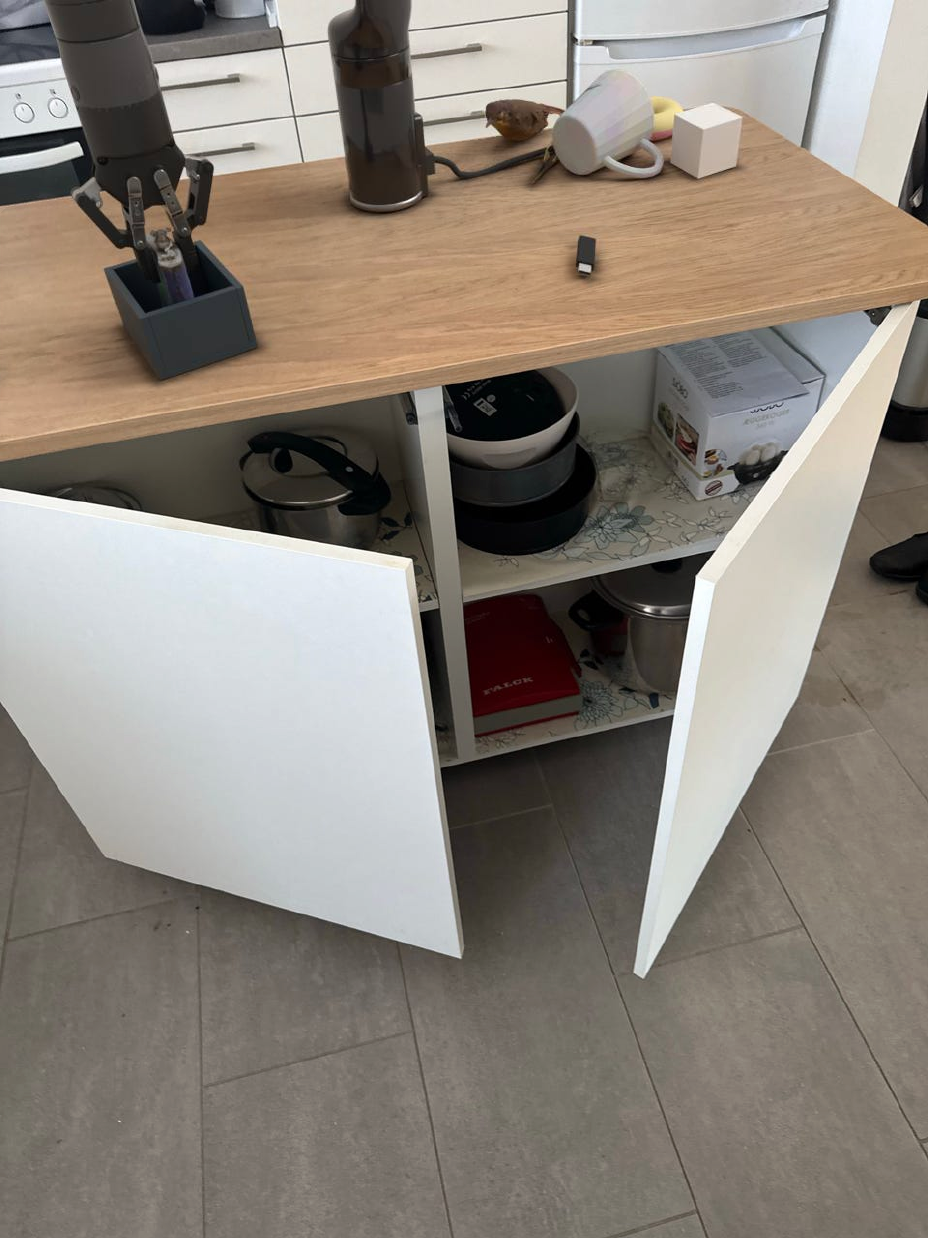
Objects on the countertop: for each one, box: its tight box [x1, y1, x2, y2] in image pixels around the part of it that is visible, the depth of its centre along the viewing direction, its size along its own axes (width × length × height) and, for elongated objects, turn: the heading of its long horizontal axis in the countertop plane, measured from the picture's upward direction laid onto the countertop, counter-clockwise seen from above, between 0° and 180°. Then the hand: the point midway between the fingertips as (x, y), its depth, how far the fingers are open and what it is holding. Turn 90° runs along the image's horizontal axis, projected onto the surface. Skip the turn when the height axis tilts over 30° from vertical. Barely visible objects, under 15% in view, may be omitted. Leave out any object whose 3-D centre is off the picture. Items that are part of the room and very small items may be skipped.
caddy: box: [103, 239, 259, 381], centre depth 97 cm, size 11×13×7 cm
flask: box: [145, 226, 194, 307], centre depth 95 cm, size 9×3×11 cm, turn 27°
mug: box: [551, 68, 665, 179], centre depth 121 cm, size 10×15×10 cm
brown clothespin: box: [532, 140, 559, 184], centre depth 125 cm, size 12×3×1 cm, turn 156°
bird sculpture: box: [484, 98, 566, 142], centre depth 131 cm, size 7×25×5 cm, turn 150°
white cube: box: [669, 102, 744, 179], centre depth 120 cm, size 6×6×6 cm
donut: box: [649, 96, 685, 142], centre depth 130 cm, size 10×5×9 cm
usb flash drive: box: [575, 234, 597, 277], centre depth 106 cm, size 8×2×1 cm, turn 173°
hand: (171, 274), depth 95 cm, fingers closed on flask, 3 cm apart
